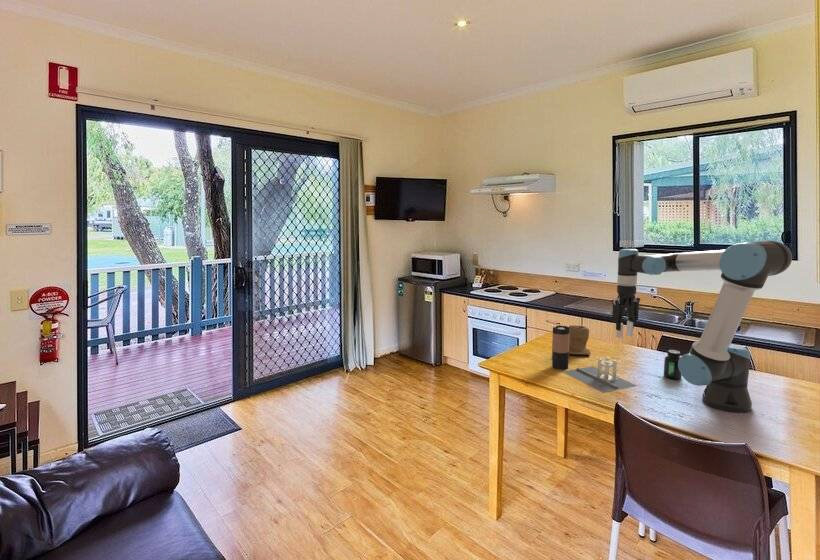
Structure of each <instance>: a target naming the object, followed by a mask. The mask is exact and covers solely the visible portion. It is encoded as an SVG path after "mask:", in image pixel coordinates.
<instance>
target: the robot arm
mask: <svg viewBox="0 0 820 560" xmlns="http://www.w3.org/2000/svg"><path fill="white" fill-rule="evenodd" d="M792 262H793V254H792V251H791V250H790V248H789V247H788V246H787V245H785V244H784V243H781V242H779V241H775V240H761V241H759V240H758V241H743V242H739V243H735V244H732V245H730V246H728V247H727V248H726V249H720V250H719V249H718V250H717V249H716V250H703V251H689V252H688V251H687V252H674V253H672V252H671V253H663V254H652V255H651V254H650V255H648V254H639V250H638V249H636V248H622V249H619V251H618V258H617V264H618V265H617V281H616V282H617V286H616V293H617V298H615V299H612V300H611V302H612V316H611V317H612V318H611V321H612V322H613V323H615V330H616V335H615V336H616V337H617V338H620V339H623V338H624V337H623V334H624V323H623V318H624V314H625V311H626V313H627V318H628V320H627V321H626V334H625V335H626V336H627V337H631V338H632V337H633V334H634V333H633V332H634V328H635V323H636V322H637V321H638V320H639V312H640V311H639V309H640V300H641V298H640V297H637V296H635V295H636V294H637V284H638V273H639V274H647V275H651V276H652V275H653V276H657V275H658V276H659V275H661V274H662V273H670V272H671V273H672V272H702V271H704V272H705V271H706V272H709V271H721V275H720V278H721V280H722V281H723V283H722V286H721V289H720V292H719V294H718V295H717V298H716V300H715V302H714V305H713V308H712V310H711V312H710V314H709V317H708V319H707V322H706V325H705V327H704V329H703V331H702V334H701V336H700V338H699V340H696V341H694V342H693V343H692V345H691V347H690V350H689V351H688V353H685V354H684V353H683V354H682V355H681V356H680V359H679V361H678V368H679V371H680V372H681V375H682V377H683V379H684V380H685V381H686V382H687V383H689V384H690V385H693V386H697V387H698V386H705V389H704V390H703V391H702V398H701V400H702V402H703V401H704V402H705V403H704V402H703V403H704V404H705V405H707V404H708V405H707V406H709V405H710V406H709V407H711V408H714V409H717V410H720V411H725V412H730V413H747V412H750V411H751V410H752V409H753V408H752V407H753V403H752V402H753V401H752V399H751V396H750V392H749V388H748V385H749V375H750V363H751V351H750V350H749V349H748V348H746V347H745V346H741V345H738V344H737V345H736V344H733V343H732V341H733V339H734V337H735V335H736V332H737V330H738V328H739V326H740V324H741V322H742V320H743V317H744V315H745V313H746V311H747V309H748V306H749V304H750V302H751V300H752V298H753V296H754V293H755V292H756V291H759V290H761V289H763V288H764V286H765V284H766V282H767V280H768V277H771V276H777V275H779V274H781V273H784V272H785V271H786V270H787V269H788V268H789V267H790V266H791V264H792Z"/></svg>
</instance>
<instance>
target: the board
mask: <svg viewBox="0 0 820 560" xmlns="http://www.w3.org/2000/svg"><path fill="white" fill-rule="evenodd" d="M561 372H562V373H564V374H566V375H568V376H569V377H571V378H574V379H575V380H578V381H579V382H581V383H583V384H585V385H587V386H589V387H591V388H593V389H595V390H597V391H600V392H601V393H604V394H605V393H608V392H610V393H611V392H614V391H618V390H624V389H628V388H629V389H630V388H634V387H635V388H636V387H638V385H636V384H634V383H633V382H630V381H627V380H625V379H624V378H621V377H619V376H617V375H616V378H617V380H616V381H611V382H608V381H606V380H604V379H602V378H600V377H598V376H597V373H598V367H596V366H594V365H591V366H586V367H581V368H580V367H576V368H575V369H569V370H568V369H567V370H561ZM604 374H605V370H603V369H602V371H601V375H604ZM609 375H611V376H612V373H610V372H609Z"/></svg>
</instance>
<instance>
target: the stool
mask: <svg viewBox="0 0 820 560" xmlns="http://www.w3.org/2000/svg"><path fill="white" fill-rule="evenodd" d="M617 363H618V361H617V360H616V359H612V361H610V357H609V356H606V357H605V360H603V359H602V358H597V368H598V373H597V376H598V377H600V378H602V379H604V380H606V381H608V382H611V381H616V380H617V378H616V376H617V365H618V364H617ZM602 367H603V368H604V371H605V374H604V375H601V371H602V370H603V369H602ZM610 368H611V369H612V371H611V374H612V376H611V375H609V373H610Z"/></svg>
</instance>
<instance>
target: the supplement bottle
mask: <svg viewBox="0 0 820 560" xmlns="http://www.w3.org/2000/svg"><path fill="white" fill-rule="evenodd" d="M681 356H682V355H681V351H679V350H677V349H668V350H667V353H666V356H665V357H664V360H663V361H664V362H663V377H664V378H665V379H668V380H670V381H671V380H672V381H680V380H681V379H682V377H683V376H682V375H681V372H680V371H679V368H678V361H679V359H680V357H681Z"/></svg>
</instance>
